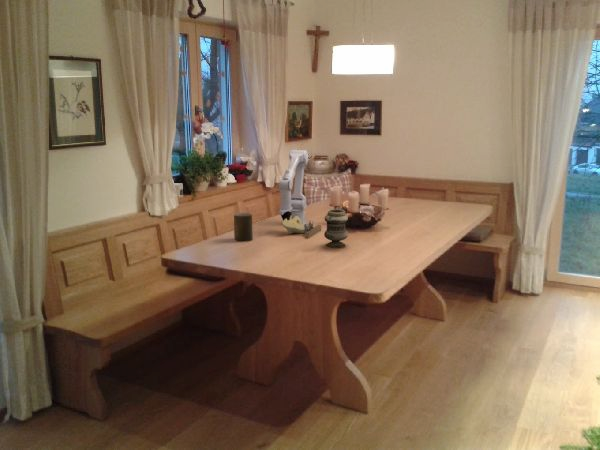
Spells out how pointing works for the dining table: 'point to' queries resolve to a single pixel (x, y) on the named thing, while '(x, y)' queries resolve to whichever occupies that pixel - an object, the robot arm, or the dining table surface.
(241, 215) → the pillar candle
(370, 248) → the dining table surface
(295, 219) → the cheese
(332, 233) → the apothecary jar
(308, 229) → the brown piece
